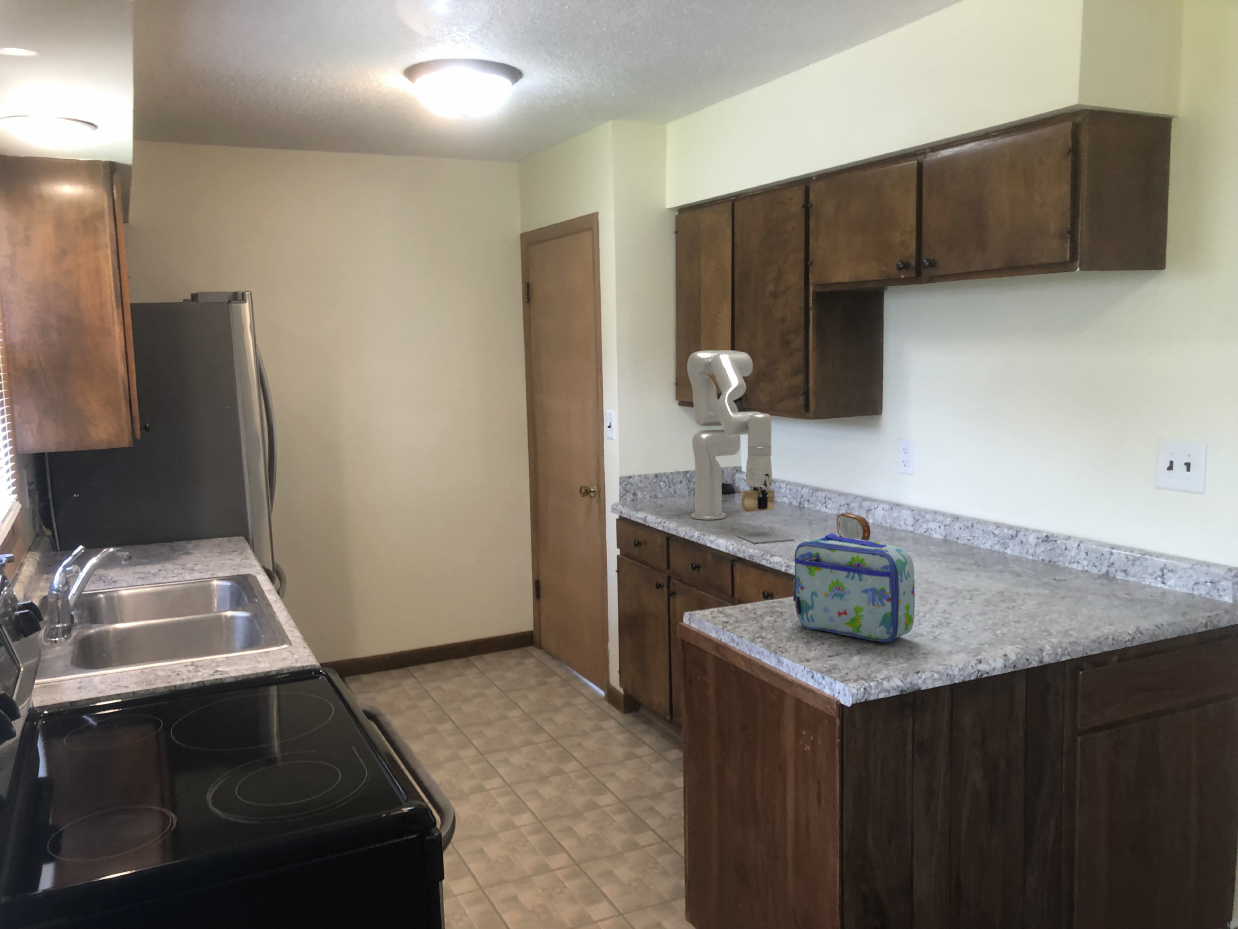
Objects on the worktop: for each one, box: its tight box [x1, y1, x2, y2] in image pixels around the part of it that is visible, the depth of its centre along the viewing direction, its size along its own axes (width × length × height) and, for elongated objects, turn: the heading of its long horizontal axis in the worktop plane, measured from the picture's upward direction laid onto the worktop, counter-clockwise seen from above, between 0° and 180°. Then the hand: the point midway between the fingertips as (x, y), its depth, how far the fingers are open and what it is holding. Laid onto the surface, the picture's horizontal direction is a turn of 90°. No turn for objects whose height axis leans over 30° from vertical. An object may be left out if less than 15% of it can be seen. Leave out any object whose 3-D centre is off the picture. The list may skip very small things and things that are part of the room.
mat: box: [733, 529, 795, 545], centre depth 310 cm, size 15×14×1 cm
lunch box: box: [792, 532, 916, 644], centre depth 207 cm, size 26×11×21 cm, turn 44°
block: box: [741, 489, 775, 513], centre depth 311 cm, size 4×10×6 cm, turn 109°
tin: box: [836, 512, 871, 541], centre depth 304 cm, size 15×3×8 cm, turn 22°
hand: (759, 507), depth 311 cm, fingers closed on block, 3 cm apart
